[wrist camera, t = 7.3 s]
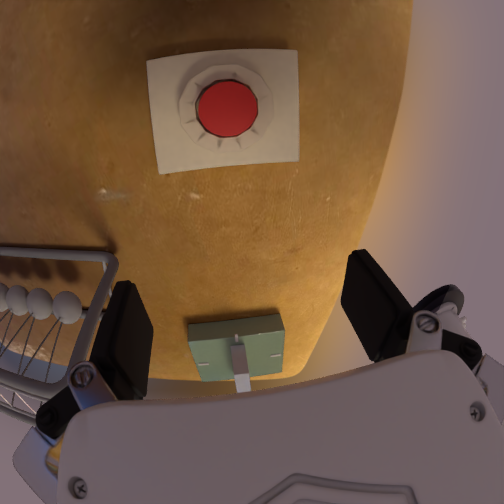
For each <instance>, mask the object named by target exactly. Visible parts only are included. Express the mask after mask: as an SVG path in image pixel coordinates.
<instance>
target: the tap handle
mask: <svg viewBox="0 0 504 504" xmlns="http://www.w3.org/2000/svg"><path fill="white" fill-rule="evenodd" d="M230 347H231V356H232V364H233V373H234V379H235V384H236V389H237V393H242V392H249V391H251V385H250V374H249V368H248V362H247V356H246V349H245V344H242V345H233V346H230Z"/></svg>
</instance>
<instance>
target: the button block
mask: <svg viewBox="0 0 504 504" xmlns="http://www.w3.org/2000/svg"><path fill="white" fill-rule="evenodd" d="M146 63H147V78H148V91H149V101H150V111H151V120H152V129H153V137H154V144H155V151H156V158H157V165H158V171H159V174H167V173H173V172H181V171H188V170H196V169H204V168H213V167H223V166H234V165H245V164H259V163H275V162H298V161H299V78H298V52H297V50H287V49H232V50H216V51H205V52H196V53H188V54H181V55H174V56H168V57H163V58H157V59H152V60H148V61H147V62H146ZM226 81H231V82H236V83H239V84H242V85H244V86H245V87H247V88H248V89H249V90H250V91H251V92H252V94H253V95H254V97H255V99H256V103H257V113H256V117H255V119H254V121H253V123H252V124H251V126H250V127H249V128H248V129H247V130H245V131H244V132H242V133H240V134H238V135H234V136H220V135H216V134H214V133H212V132H210V131H209V130H208V129H207V128H205V126H204V125H203V124H202V122H201V120H200V117H199V113H198V106H199V102H200V99H201V97H202V95H203V94H204V93H205V91H206V90H207V89H208V88H210V87H211V86H213V85H215V84H217V83H220V82H226Z"/></svg>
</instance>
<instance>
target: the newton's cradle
mask: <svg viewBox="0 0 504 504" xmlns="http://www.w3.org/2000/svg"><path fill="white" fill-rule="evenodd" d="M0 255H2V256H15V257H30V258H45V259H61V260H78V261H96V262H102V264H103V269H104V275H103V277H102V279H101V282H100V284H99V286H98V288H97V291H96V293H95V295H94V297H93V300H92V302H91V305H90V307H89V309H88V311H87V310H82V305H81V302H80V299H79V298H78V297H77V296H76V295H75V294H74V293H72V292H69V291H63V292H60V293H59V294H57V295H56V297H55V298H54V301H53V300H52V297H51V295H50V294H49V293H48V292H47V291H46V290H44V289H42V288H36V289H33V290H32V291H31V292H30V293H28V291H27V290H26V289H25V288H24V287H22V286H20V285H15V286H13V287H11V288H10V289H9V288H8V287H7V286H6V285H5V284H3V283H0V311H5V310H6V309H8V308H9V311H11V312H12V316H13V314H15V315H24V314H25V313H27V312H28V311H29V313H30V316H31V315H32V316H33V317H34V319H33V322H32V325H31V328H30V331H29V334H28V337H27V340H26V343H25V347H24V350H23V354H22V358H21V362H20V366H19V370H18V374H15V373H12V372H9V371H7V370H4V369H1V368H0V386H1V387H3V388H6V389H8V390H11V391H14V393H13V399H12V405H9V404H6V403H4V402H1V401H0V412H2V413H5V414H7V415H9V416H11V417H13V418H16V419H18V420H20V421H23V422H26V423H28V424H31V425H33V426H36V421H35V417H36V415H34V414H31V413H29V412H26V411H24V410H21V409H18V408H16V407H13V401H14V395H15V393H16V394H17V393H19V394H22V395H25V396H28V397H30V398H34V399H37V400H40V401H41V404H40V407H41V406H42V401H43V402H47V401H48V400H50V399H51V398H52V397H53V396H55V395H56V394H57V393H59V392H60V391H61V390H62V389H64V388H65V387H66V386H68V382H67V375H68V372H69V370H70V369H71V367H72V366H74V365H75V364H76V363H78V362H80V361H85V360H86V356H87V353H88V350H89V347H90V343H91V340H92V337H93V334H94V331H95V328H96V325H97V322H98V320H101V319H102V316H103V314H104V313H106V312H101V311H102V308H103V305H104V303H105V300H106V297H107V295H108V292H109V296H110V298H111V295H112V291H111V285H112V282H113V280H114V277H115V275H116V272H117V270H118V266H119V262H118V259H117V258H116V257H115V256H114V255H113V254H111V253H109V252H103V251H80V250H58V249H37V248H16V247H0ZM106 263H108V266H107V267H106ZM9 311H8V312H9ZM8 312H7V313H6V314H5V315H4V316H3V317H2V319H3V318H4V317H5V316H6V315H7V314H8ZM50 314H54V315H55V317H56V318H57V319H58V320H57V321H56V323H55V324H54V325H53V327H52V328H51V330H50V331H49V333H48V334H47V335H46V337H45V338H44V340H43V341H42V343H41V344H40V346H39V347H38V349H37V351H36V352H35V354H34V355H33V357H32V358H31V360H30V362H29V363H28V365H27V366H26V368H25V370H24V371H23V373H22V375H19V371H20V367H21V363H22V359H23V355H24V352H25V348H26V345H27V341H28V338H29V335H30V332H31V329H32V326H33V323H34V320H35V318H36V319H40V320H42V319H46V318H47V317H49V316H50ZM12 316H11V318H10V321H9V324H10V322H11V319H12ZM30 316H29V317H28V318H27V319H26V321H25V322H24V323H23V325H22V326H21V327H20V329H19V330H18V331H17V333H16V334H15V335H14V337H13V338H12V339H11V341H10V342H9V344H8V345H7V347H6V348H5V349H4V351H3V352H2V354H1V355H0V358H1V356H2V355H3V354H4V352H5V351H6V349H7V348H8V346H9V345H10V343H11V342H12V341H13V339H14V338H15V336H16V335H17V334H18V332H19V331H20V330H21V328H22V327H23V326H24V324H25V323H26V322H27V320H28V319H29V318H30ZM79 318H83V319H85V320H84V322H83V325H82V327H81V330H80V333H79V335H78V338H77V341H76V344H75V347H74V350H73V353H72V356H71V359H70V362H69V365H68V368H67V371H66V374H65V376H64V377H63V378H62V379H61V380H60V381H58V382H56V383H53V384H51V383H46V381H47V376H48V372H49V368H50V364H51V360H52V356H53V353H54V349H55V346H56V342H57V339H58V335H59V332H60V329H61V326H62V323H64V324H72V323H74V322H76V321H77V320H78V319H79ZM2 319H1V320H0V322H1V321H2ZM58 321H60V322H61V325H60V328H59V331H58V334H57V337H56V341H55V344H54V347H53V351H52V355H51V358H50V362H49V366H48V371H47V374H46V379H45V382H41V381H37V380H34V379H31V378H28V377H24V376H23V375H24V373H25V371H26V370H27V368H28V366H29V365H30V363H31V361H32V360H33V358H34V357H35V355H36V354H37V352H38V350H39V349H40V347H41V346H42V344H43V343H44V341H45V340H46V338H47V337H48V335H49V334H50V332H51V331H52V329H53V328H54V326H55V325H56V324H57V322H58ZM9 324H8V326H7V329H6V332H5V335H4V338H3V341H2V344H1V347H0V352H1V348H2V345H3V342H4V339H5V336H6V333H7V330H8V327H9ZM0 395H1V394H0ZM17 395H18V394H17ZM1 396H2V395H1ZM18 396H19V395H18ZM2 397H3V396H2ZM19 397H20V396H19ZM3 398H4V397H3ZM20 398H21V397H20ZM4 399H5V398H4ZM21 399H22V398H21ZM22 400H23V399H22ZM6 401H7V400H6ZM23 401H24V400H23ZM7 402H8V401H7ZM24 402H25V401H24ZM8 403H9V402H8ZM25 404H27V403H25ZM27 406H28V407H29V405H27ZM29 408H30V409H31V407H29ZM32 410H33V409H32ZM33 411H34V410H33ZM34 412H35V411H34ZM35 414H36V413H35Z"/></svg>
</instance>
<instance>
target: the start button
mask: <svg viewBox="0 0 504 504" xmlns="http://www.w3.org/2000/svg"><path fill="white" fill-rule="evenodd" d="M198 113H199V117H200V120H201V122H202V124H203V125H204V126H205V128H207V129H208V130H209V131H210V132H212V133H214V134H216V135H220V136H234V135H238V134H240V133H242V132H244V131H245V130H247V129H248V128H249V127H250V126H251V124H252V123H253V121H254V119H255V117H256V113H257V103H256V99H255V97H254V95H253V94H252V92H251V91H250V90H249V89H248V88H247V87H245V86H244V85H242V84H239V83H236V82H231V81H226V82H220V83H217V84H215V85H213V86H211V87H210V88H208V89H207V90H206V91H205V93H204V94H203V95H202V97H201V99H200V102H199V106H198Z"/></svg>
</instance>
